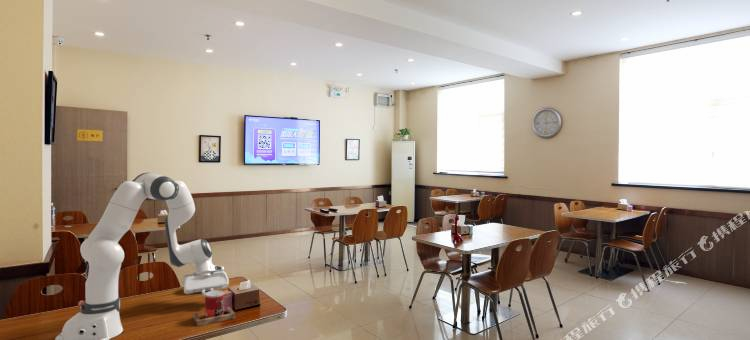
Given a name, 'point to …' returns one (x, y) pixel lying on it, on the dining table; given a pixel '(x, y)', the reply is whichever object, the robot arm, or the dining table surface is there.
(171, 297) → the dining table surface
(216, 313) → the canned food
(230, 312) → the tray
